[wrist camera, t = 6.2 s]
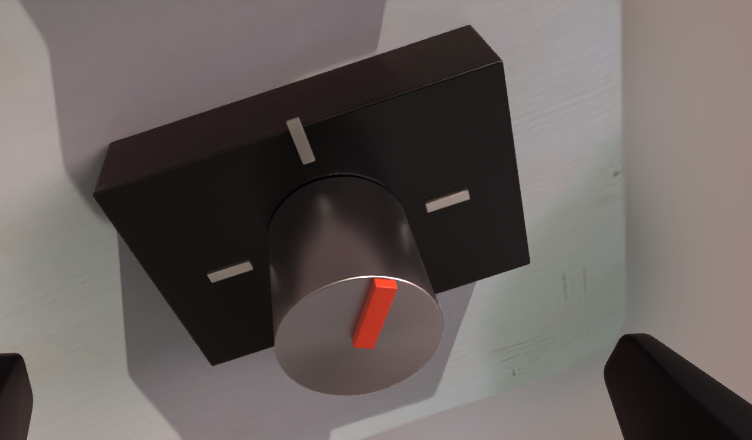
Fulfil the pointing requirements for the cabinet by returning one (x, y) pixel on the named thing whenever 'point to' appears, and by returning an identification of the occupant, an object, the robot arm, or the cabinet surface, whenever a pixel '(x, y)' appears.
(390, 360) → the knob
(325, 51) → the cabinet surface
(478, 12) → the cabinet surface
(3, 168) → the cabinet surface
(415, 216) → the panel
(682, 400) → the robot arm
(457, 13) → the cabinet surface
